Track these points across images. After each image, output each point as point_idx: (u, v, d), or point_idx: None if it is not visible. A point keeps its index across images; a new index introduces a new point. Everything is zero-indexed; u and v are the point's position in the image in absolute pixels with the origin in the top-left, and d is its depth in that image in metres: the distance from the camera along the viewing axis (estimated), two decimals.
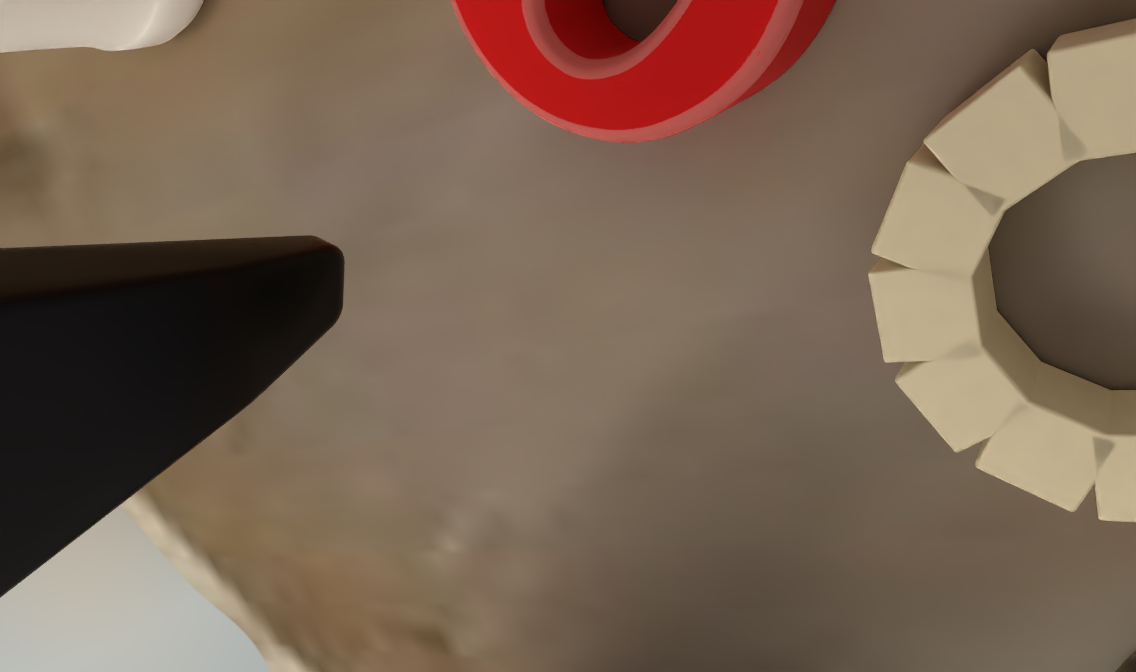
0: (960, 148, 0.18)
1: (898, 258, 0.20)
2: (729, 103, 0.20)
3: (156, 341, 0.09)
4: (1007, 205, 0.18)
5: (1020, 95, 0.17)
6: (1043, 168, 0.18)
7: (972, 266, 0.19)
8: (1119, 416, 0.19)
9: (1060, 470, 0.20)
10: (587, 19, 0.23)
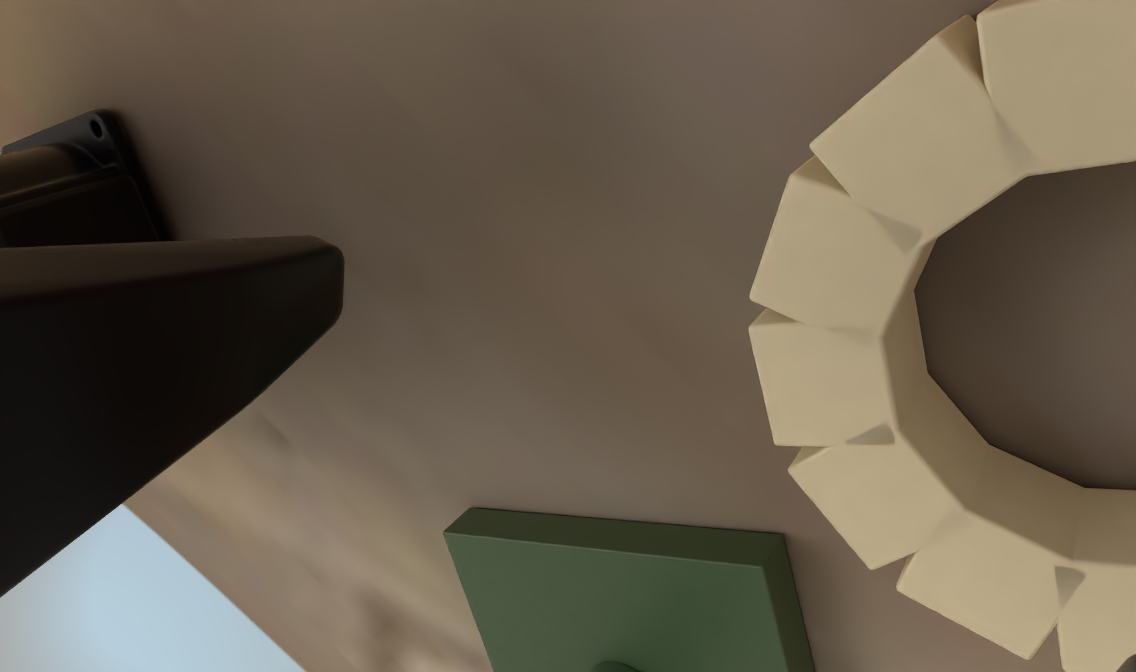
0: None
1: (992, 61, 0.11)
2: None
3: (156, 341, 0.09)
4: None
5: None
6: None
7: (1045, 168, 0.11)
8: (919, 417, 0.15)
9: (816, 410, 0.15)
10: None
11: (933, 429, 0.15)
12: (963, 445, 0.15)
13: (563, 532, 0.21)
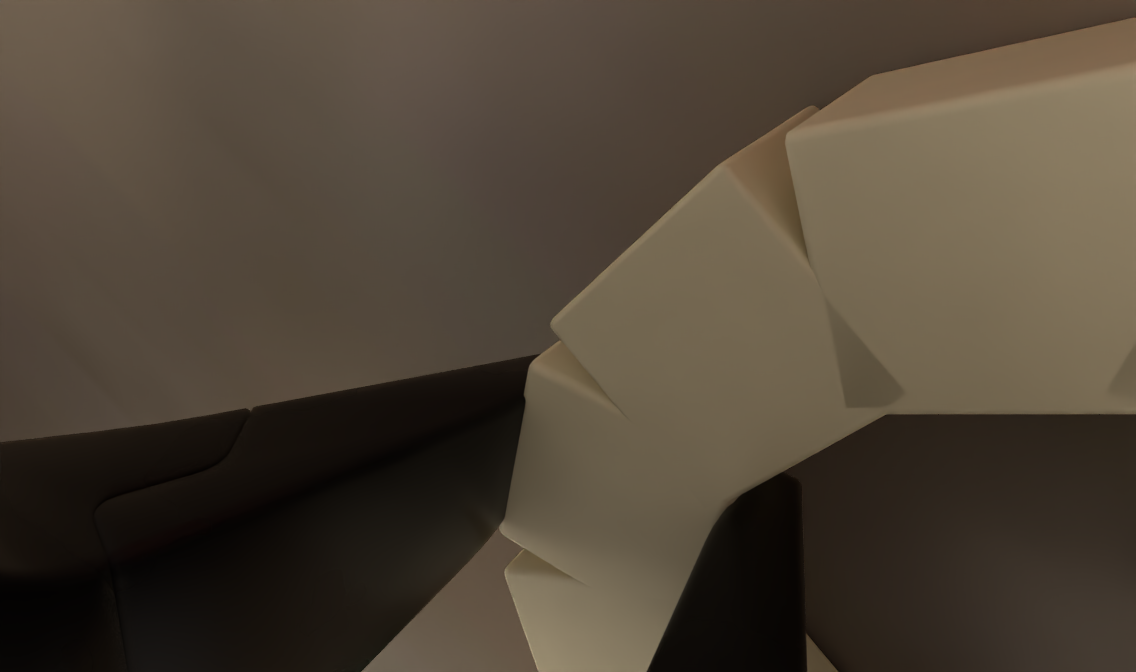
0: None
1: (815, 217, 0.06)
2: None
3: (418, 502, 0.08)
4: None
5: None
6: None
7: (915, 407, 0.06)
8: None
9: None
10: None
11: None
12: None
13: None
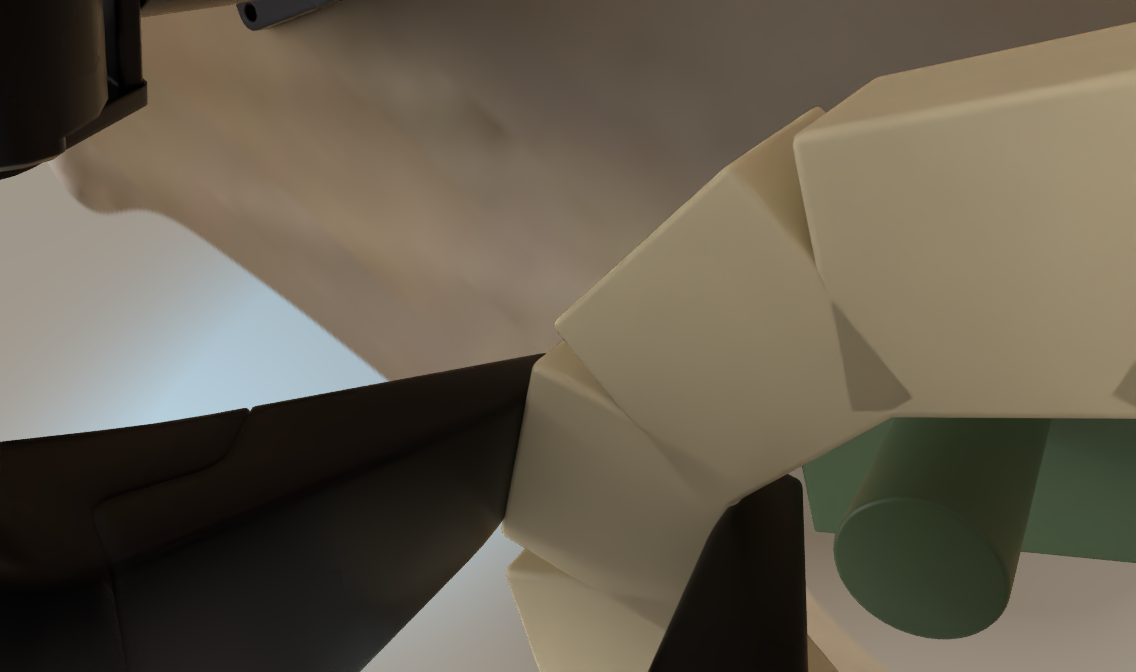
0: None
1: (823, 220, 0.06)
2: None
3: (417, 502, 0.08)
4: None
5: None
6: None
7: (922, 410, 0.06)
8: None
9: None
10: None
11: None
12: None
13: None
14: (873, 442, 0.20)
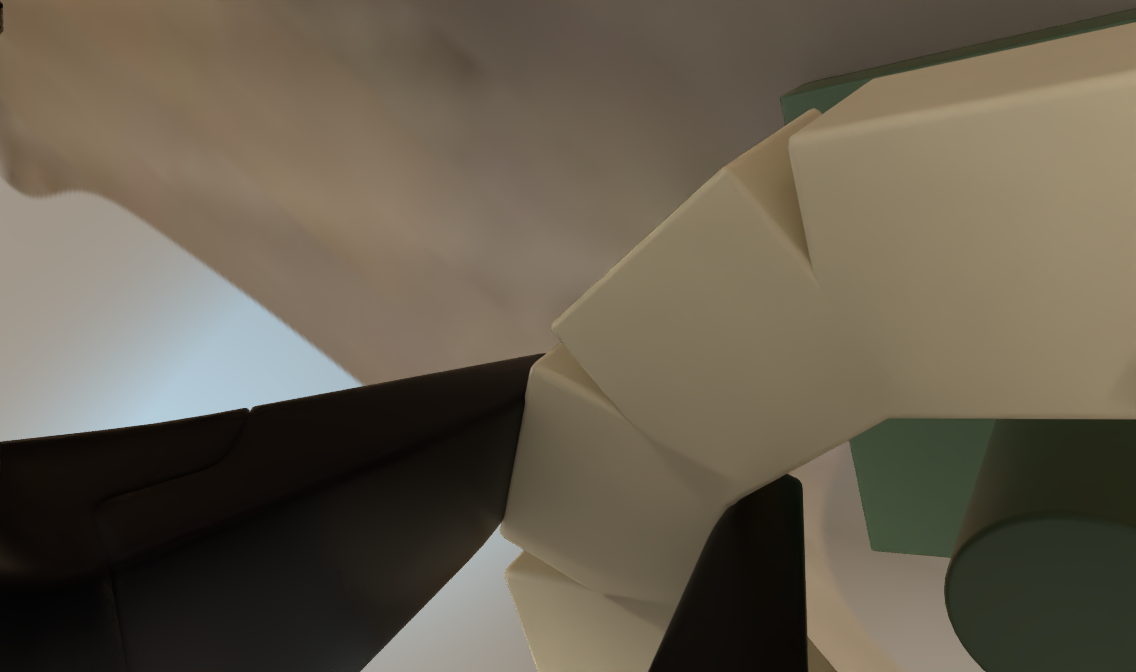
0: None
1: (818, 222, 0.06)
2: None
3: (417, 502, 0.08)
4: None
5: None
6: None
7: (918, 411, 0.06)
8: None
9: None
10: None
11: None
12: None
13: (1026, 38, 0.13)
14: (949, 436, 0.16)
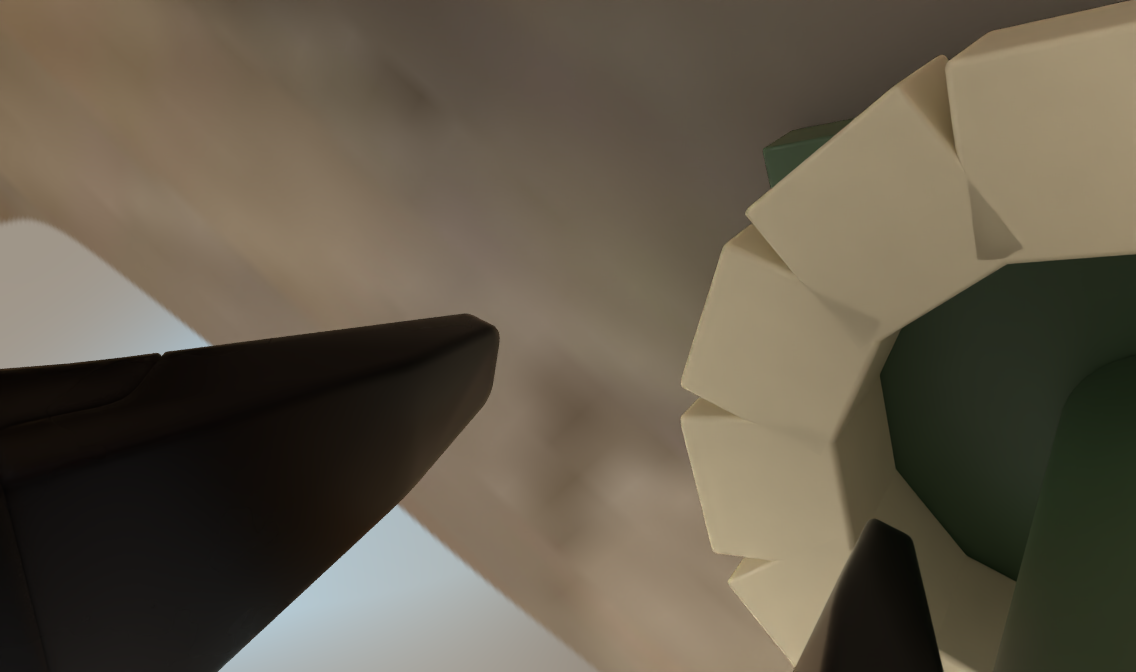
0: None
1: (964, 121, 0.09)
2: None
3: (328, 446, 0.08)
4: None
5: None
6: None
7: (1030, 256, 0.09)
8: None
9: (759, 519, 0.12)
10: None
11: None
12: (934, 561, 0.13)
13: None
14: (961, 546, 0.13)
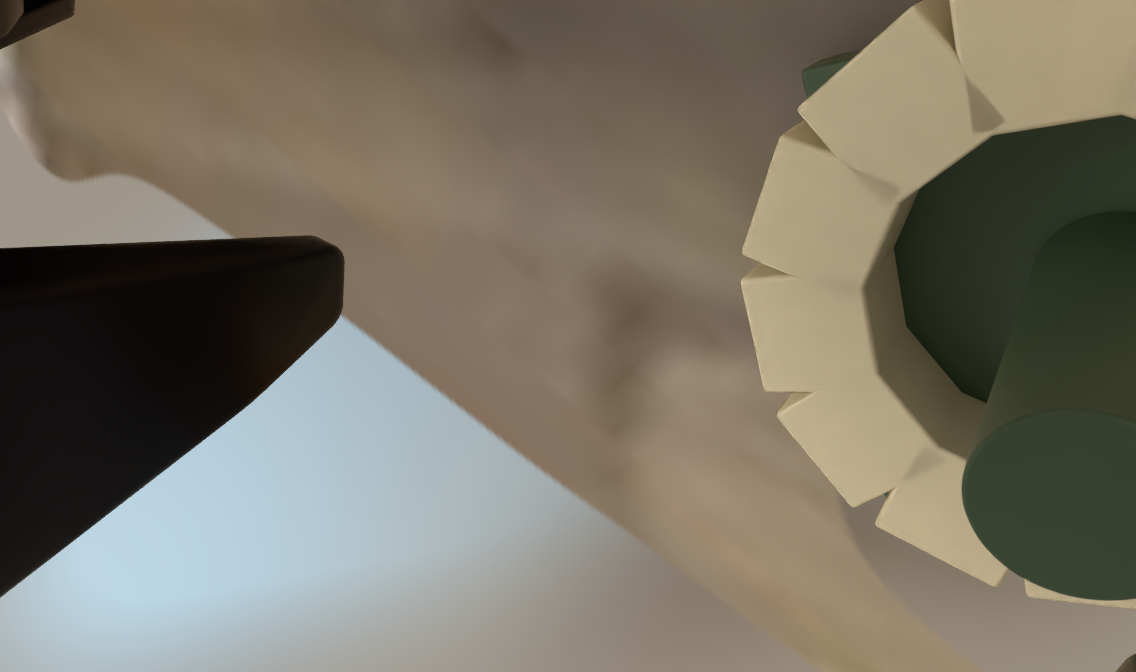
0: None
1: (962, 30, 0.12)
2: None
3: (156, 341, 0.09)
4: (1132, 113, 0.12)
5: None
6: None
7: (1009, 127, 0.13)
8: (897, 363, 0.16)
9: (803, 357, 0.16)
10: None
11: (910, 375, 0.16)
12: (937, 392, 0.16)
13: None
14: (958, 385, 0.17)
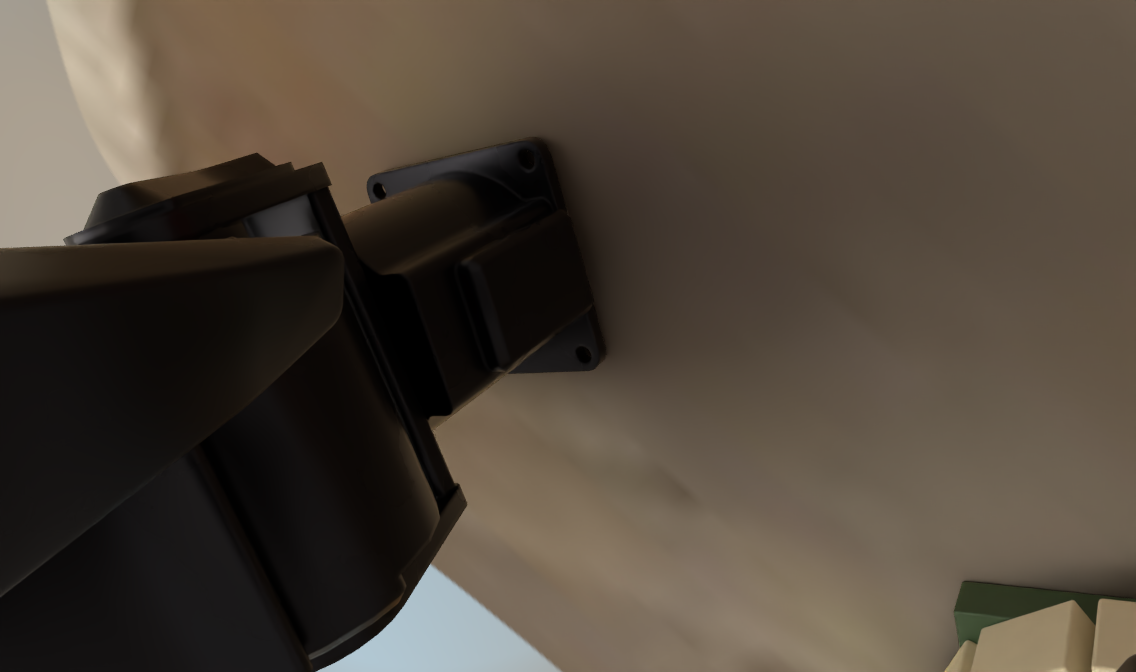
0: None
1: None
2: None
3: (156, 341, 0.09)
4: None
5: None
6: None
7: None
8: None
9: None
10: None
11: None
12: None
13: None
14: None
